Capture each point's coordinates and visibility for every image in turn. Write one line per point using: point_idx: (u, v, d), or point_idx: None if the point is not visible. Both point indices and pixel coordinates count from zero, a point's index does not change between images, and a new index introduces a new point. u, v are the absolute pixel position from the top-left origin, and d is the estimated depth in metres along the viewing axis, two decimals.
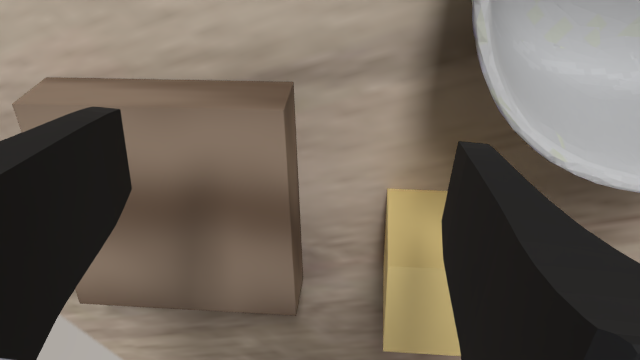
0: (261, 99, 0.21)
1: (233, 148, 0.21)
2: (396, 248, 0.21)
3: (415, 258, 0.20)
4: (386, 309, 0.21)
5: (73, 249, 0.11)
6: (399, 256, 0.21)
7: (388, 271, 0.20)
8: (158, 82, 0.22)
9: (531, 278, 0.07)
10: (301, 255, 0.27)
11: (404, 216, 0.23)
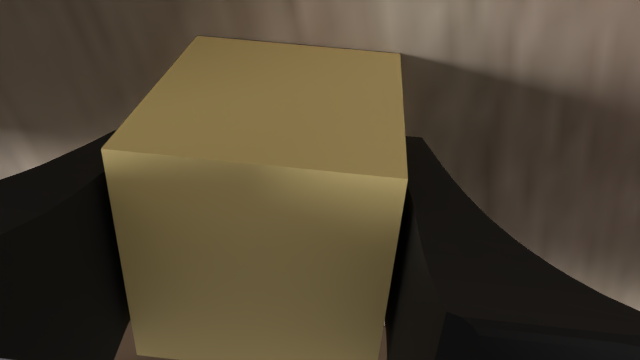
0: None
1: None
2: None
3: None
4: None
5: None
6: None
7: (150, 354, 0.11)
8: None
9: (421, 266, 0.07)
10: None
11: None
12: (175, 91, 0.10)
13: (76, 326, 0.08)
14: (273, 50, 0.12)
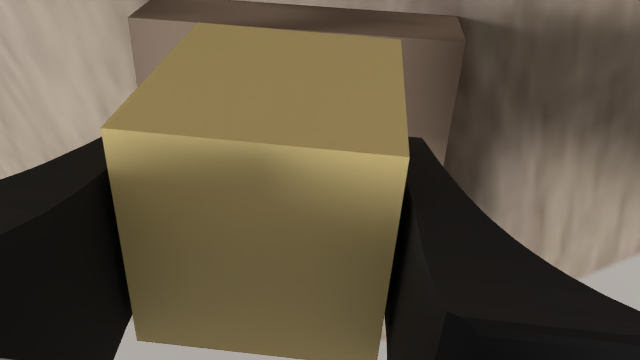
0: None
1: None
2: None
3: None
4: (250, 351, 0.10)
5: None
6: None
7: (151, 339, 0.11)
8: None
9: (421, 266, 0.07)
10: (412, 14, 0.19)
11: None
12: (175, 74, 0.10)
13: (75, 326, 0.08)
14: (273, 36, 0.12)
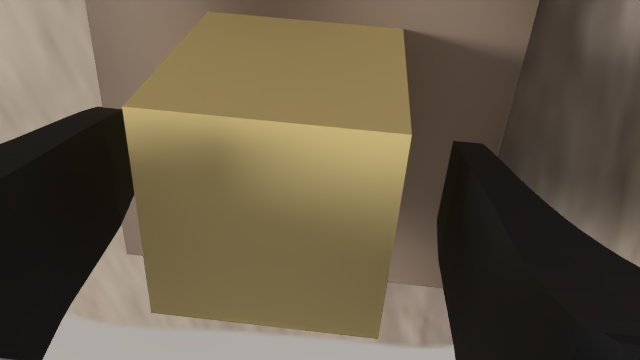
0: None
1: None
2: None
3: None
4: (259, 323, 0.11)
5: (78, 250, 0.11)
6: None
7: (164, 312, 0.11)
8: None
9: (523, 277, 0.07)
10: None
11: None
12: (189, 59, 0.10)
13: None
14: (281, 25, 0.12)
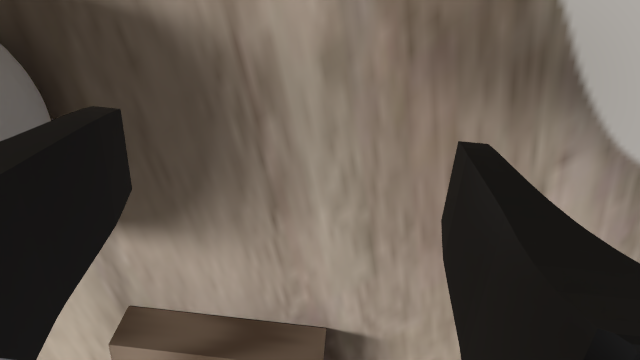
0: None
1: None
2: None
3: None
4: None
5: (73, 249, 0.11)
6: None
7: None
8: None
9: (531, 278, 0.07)
10: (297, 327, 0.28)
11: None
12: None
13: None
14: None
